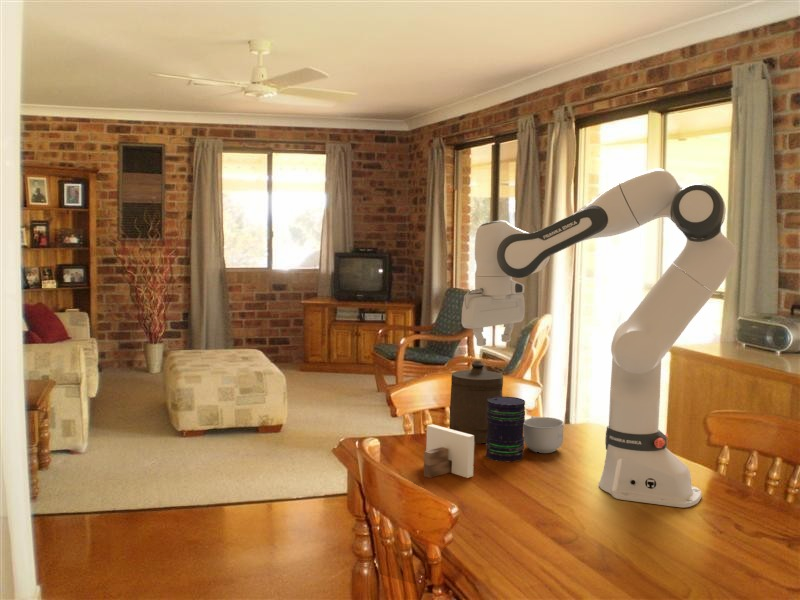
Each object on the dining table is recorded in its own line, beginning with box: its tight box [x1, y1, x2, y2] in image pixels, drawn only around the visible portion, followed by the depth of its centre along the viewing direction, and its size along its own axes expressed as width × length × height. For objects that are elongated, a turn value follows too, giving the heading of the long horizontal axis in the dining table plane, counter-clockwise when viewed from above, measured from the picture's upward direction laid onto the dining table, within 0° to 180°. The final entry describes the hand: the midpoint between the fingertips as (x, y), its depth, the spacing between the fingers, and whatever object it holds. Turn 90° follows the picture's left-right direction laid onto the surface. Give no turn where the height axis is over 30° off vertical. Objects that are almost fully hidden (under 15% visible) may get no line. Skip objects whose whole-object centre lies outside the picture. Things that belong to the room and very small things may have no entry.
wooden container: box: [448, 360, 504, 445], centre depth 232 cm, size 15×15×22 cm
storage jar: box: [485, 395, 526, 462], centre depth 213 cm, size 10×10×15 cm
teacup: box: [523, 415, 565, 454], centre depth 222 cm, size 14×11×8 cm
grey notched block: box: [423, 442, 476, 479], centre depth 201 cm, size 16×2×6 cm, turn 133°
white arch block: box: [425, 423, 474, 479], centre depth 201 cm, size 14×2×10 cm, turn 43°
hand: (493, 343), depth 202 cm, fingers open, 8 cm apart
